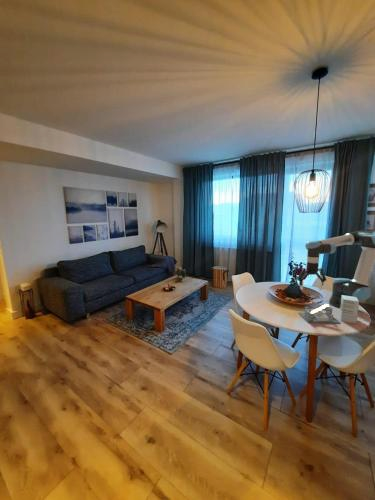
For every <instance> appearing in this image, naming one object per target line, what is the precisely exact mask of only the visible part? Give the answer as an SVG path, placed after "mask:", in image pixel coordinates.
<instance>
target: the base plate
mask: <svg viewBox="0 0 375 500" xmlns="http://www.w3.org/2000/svg"><path fill="white" fill-rule="evenodd" d="M315 309H316V308H315ZM315 309H313V308H312V309H311V308H310V309H309V306H304V312H301V311H299V312H297V313H298V314H299V316H300V317H301V318H302V319H303V320H304V321H306V322H307V324H341V322H340V321H339V320H338V319H336V318H335V317H334V314H333V307H332V306H330V307H328V308H326V310H325V309H324V310H323V311H325V312H323V311H320V312H318V313H316V314H314V313H311V311H313V310H315Z"/></svg>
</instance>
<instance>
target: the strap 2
mask: <svg viewBox="0 0 375 500" xmlns="http://www.w3.org/2000/svg"><path fill="white" fill-rule="evenodd" d="M328 307H331V305H330V304H329V303H328V304H327V303H325V304H324V305H321V307H319V306H318V308H315V310H314V309H313V311H311V313H314V314H316V313H318V312H320V311H321V312H323V311H325V310H324V309H326V308H328Z"/></svg>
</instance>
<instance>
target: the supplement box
mask: <svg viewBox="0 0 375 500" xmlns="http://www.w3.org/2000/svg"><path fill="white" fill-rule="evenodd" d="M359 306H360V301H358V299H357V297H352V296H345V295H342V296H341V305H340V308H339V319H340V321H341V322H345V323H349V324H355V325H356V324H358V316H359V315H358V313H359Z"/></svg>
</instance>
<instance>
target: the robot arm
mask: <svg viewBox="0 0 375 500" xmlns="http://www.w3.org/2000/svg"><path fill="white" fill-rule="evenodd" d="M345 245H349V246H351V245H358V246H360V248H361V249H362V251H361V253H360V256H359V259H358V263H357V266H356V268H355V273H354V275H353V278H352V279H350V278H345V277H344V278H343V277H335V278H334V279H333V280H332V281H333V282H332V290H331V291H332V292H331V296H330V298H329V300H328V305H330V306H333V307H336V308H339V309H340V305H341V296H342V295H345V296H352V297H357V299H358V301H359V302H363V301H367V300H368V299H369V298H370V296H371V295H372V292H371V291H372V290H371V289H370V288H369V286H370V284H369V283H368V281H369V278H370V275H371V272H372V269H373V267H374V263H375V230H357V231H353V232H347V233H345V234H344V235H339V236H335V237H330V238H326V239H321V240H314V241H313V240H312V241H311V240H310V241H309V240H308V241H307V242H306V243H305V249H306V250H307V254H306V255H307V256H306V267H305V268H304V267H302V268H301V271H300V273H299V274H298V276H297V278H296V280H297V281H299V286H300V289H299V290H301V291H304V280H305V279H306V278H307V277H308V276H309V275H315V276H317V278H318V279H319V282H318V289H319V291H322V290H323V286H324V283H325V282H327V276H326V275H325V273H324V271H323V270H324V269H323V268H321V267H320V266H319V265H320V264H319V262H320V255H327V254H329V255H330V254H334V253H335V252H336V251H337V247H340V246H341V247H342V246H345ZM318 272H319V273H318Z"/></svg>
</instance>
